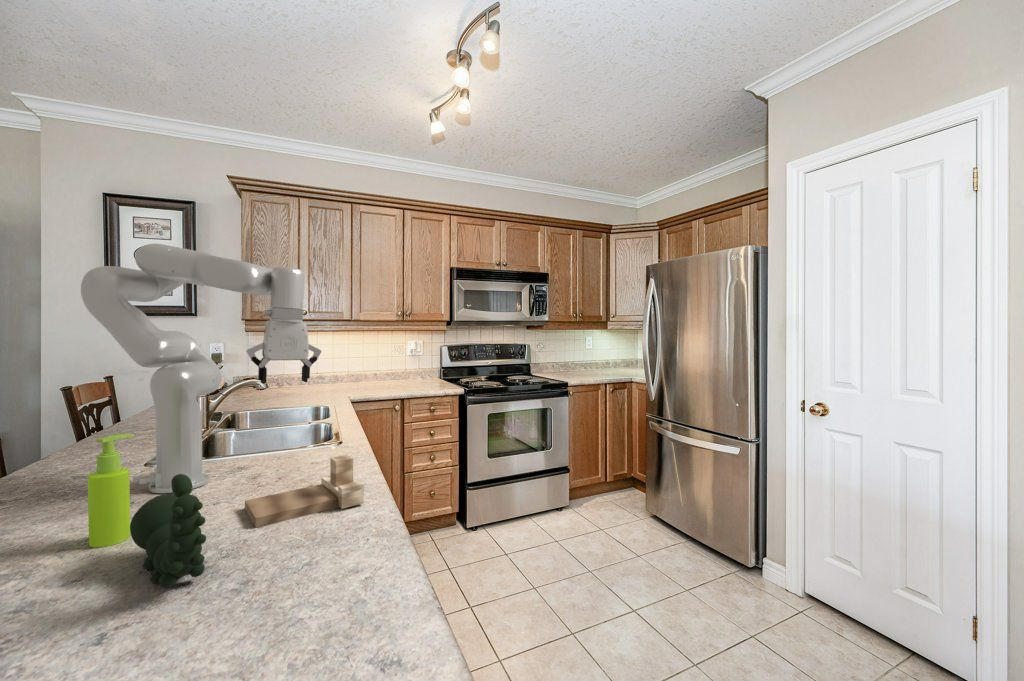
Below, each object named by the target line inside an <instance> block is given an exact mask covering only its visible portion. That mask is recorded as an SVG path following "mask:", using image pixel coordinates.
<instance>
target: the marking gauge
mask: <svg viewBox="0 0 1024 681" xmlns="http://www.w3.org/2000/svg"><path fill="white" fill-rule="evenodd" d="M329 459H330V462H329V463H330V465H329V466H330V468H329V469H330V472H329V473H330V475H327V476H323V477H321V480H320V481H321V484H323V485H324V486H325V487H326V488H327V489H329V490H330V491H331V492H332V493H333V494H334V495H336V496H337V497H338V506H339V507H338V508H340V509H342V510H343V509H347V508H351V507H354V506H359V505H362V504H364V503H365V490H364V489H365V483H364V482H361V480H359V481H354V458H353V457H351V456H349V454H343V455H339V456H332V457H330V458H329Z"/></svg>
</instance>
